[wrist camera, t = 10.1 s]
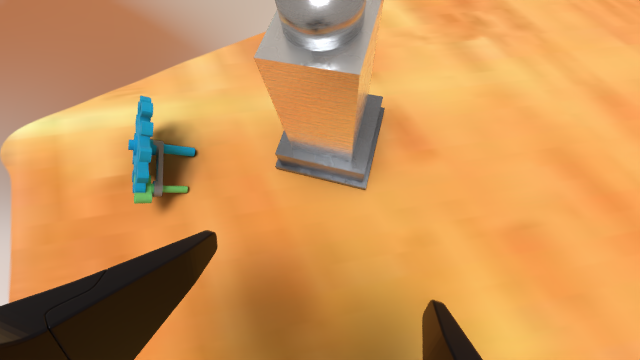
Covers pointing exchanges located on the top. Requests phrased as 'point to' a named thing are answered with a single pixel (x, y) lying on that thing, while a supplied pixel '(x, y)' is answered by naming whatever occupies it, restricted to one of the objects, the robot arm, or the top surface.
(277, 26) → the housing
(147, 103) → the gear
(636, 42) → the top surface
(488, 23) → the top surface
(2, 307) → the robot arm
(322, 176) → the stand
